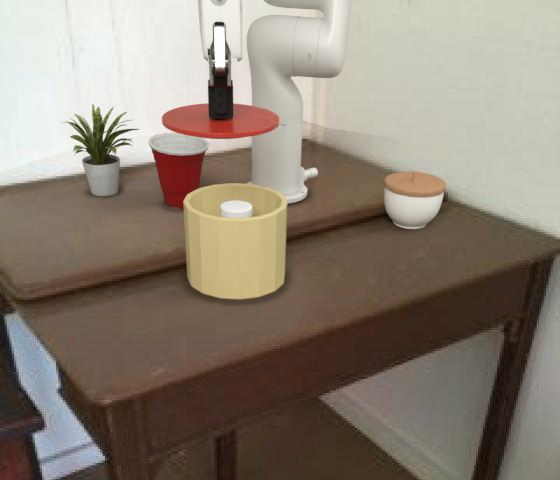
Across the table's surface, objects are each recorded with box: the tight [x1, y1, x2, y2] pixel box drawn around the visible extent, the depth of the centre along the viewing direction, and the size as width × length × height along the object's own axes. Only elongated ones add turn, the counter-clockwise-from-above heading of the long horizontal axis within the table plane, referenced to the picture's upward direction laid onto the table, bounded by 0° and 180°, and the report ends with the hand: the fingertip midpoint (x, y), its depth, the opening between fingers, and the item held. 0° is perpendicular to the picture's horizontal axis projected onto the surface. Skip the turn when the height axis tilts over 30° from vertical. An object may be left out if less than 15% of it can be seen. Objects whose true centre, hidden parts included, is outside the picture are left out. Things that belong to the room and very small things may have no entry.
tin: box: [183, 182, 288, 300], centre depth 103 cm, size 15×15×12 cm
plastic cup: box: [148, 132, 210, 211], centre depth 129 cm, size 11×11×12 cm
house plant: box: [61, 104, 140, 197], centre depth 131 cm, size 14×14×16 cm
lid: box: [161, 103, 279, 140], centre depth 92 cm, size 16×16×6 cm
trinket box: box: [383, 170, 447, 230], centre depth 125 cm, size 11×11×9 cm
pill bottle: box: [220, 200, 253, 218], centre depth 104 cm, size 6×6×11 cm
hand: (221, 113), depth 93 cm, fingers closed on lid, 2 cm apart
